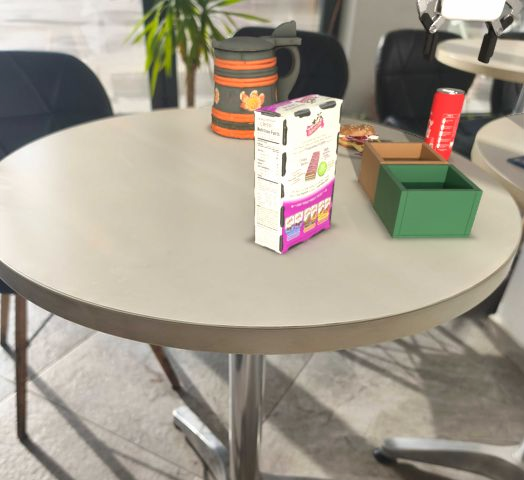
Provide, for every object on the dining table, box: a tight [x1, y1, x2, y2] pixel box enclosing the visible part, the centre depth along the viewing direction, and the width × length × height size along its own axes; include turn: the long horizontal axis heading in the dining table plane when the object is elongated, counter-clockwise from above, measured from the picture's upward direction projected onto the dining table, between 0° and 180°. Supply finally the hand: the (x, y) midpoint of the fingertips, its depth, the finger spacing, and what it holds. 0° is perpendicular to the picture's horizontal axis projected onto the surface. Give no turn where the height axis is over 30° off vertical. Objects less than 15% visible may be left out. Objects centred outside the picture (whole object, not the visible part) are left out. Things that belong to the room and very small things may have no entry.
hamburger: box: [338, 123, 382, 157], centre depth 96 cm, size 14×14×6 cm
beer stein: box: [210, 19, 303, 140], centre depth 102 cm, size 19×15×20 cm
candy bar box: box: [253, 93, 344, 255], centre depth 61 cm, size 11×5×16 cm, turn 139°
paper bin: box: [358, 141, 450, 205], centre depth 77 cm, size 10×10×7 cm
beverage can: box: [423, 87, 466, 161], centre depth 90 cm, size 5×5×12 cm
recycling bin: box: [372, 163, 484, 239], centre depth 68 cm, size 11×11×7 cm
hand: (455, 61), depth 84 cm, fingers open, 9 cm apart
